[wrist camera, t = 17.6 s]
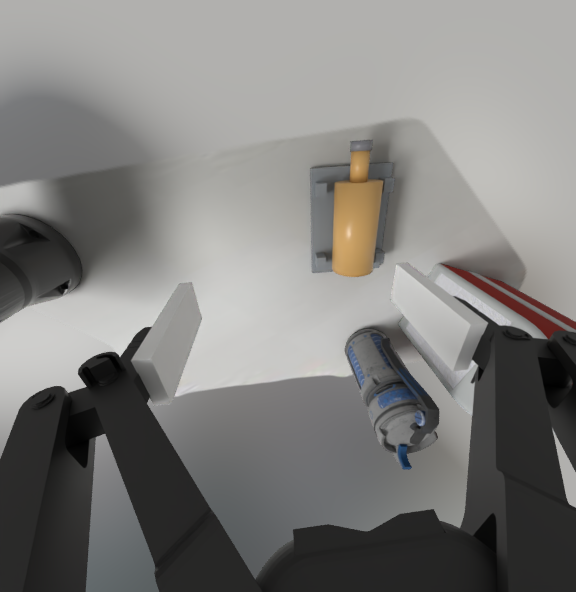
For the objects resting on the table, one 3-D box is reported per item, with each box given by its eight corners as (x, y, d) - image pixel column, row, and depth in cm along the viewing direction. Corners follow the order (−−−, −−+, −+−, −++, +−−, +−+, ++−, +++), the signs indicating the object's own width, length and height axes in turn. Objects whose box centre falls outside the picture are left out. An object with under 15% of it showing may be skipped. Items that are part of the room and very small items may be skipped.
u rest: (377, 265, 49) (384, 272, 46) (311, 271, 49) (314, 278, 46) (390, 162, 40) (400, 163, 37) (310, 168, 40) (313, 169, 37)
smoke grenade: (396, 319, 56) (475, 424, 34) (376, 362, 62) (432, 473, 41) (353, 314, 55) (408, 420, 33) (337, 359, 61) (374, 472, 39)
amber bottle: (363, 258, 47) (379, 274, 41) (327, 262, 47) (339, 278, 41) (374, 140, 38) (398, 137, 32) (329, 143, 37) (345, 141, 31)
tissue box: (459, 340, 60) (578, 458, 37) (396, 326, 57) (484, 446, 34) (506, 281, 53) (694, 383, 29) (436, 261, 49) (586, 357, 26)
